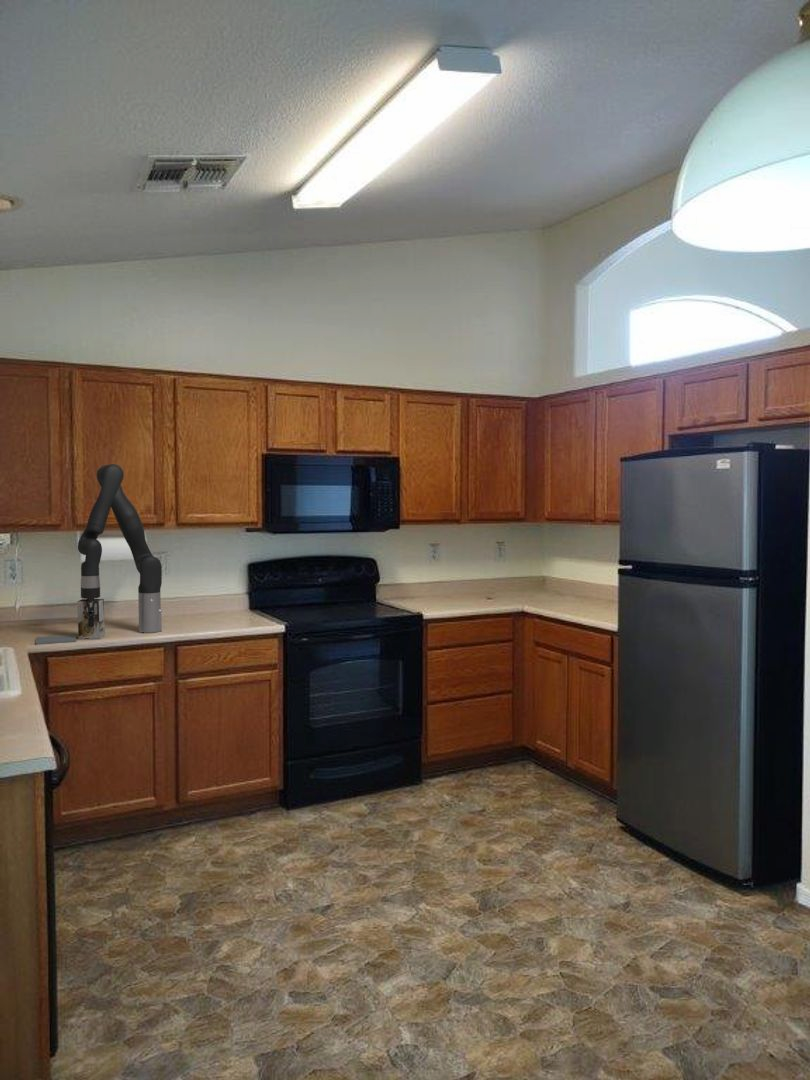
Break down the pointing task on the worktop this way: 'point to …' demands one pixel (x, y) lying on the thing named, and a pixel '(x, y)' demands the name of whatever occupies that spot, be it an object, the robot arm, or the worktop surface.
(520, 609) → the worktop surface
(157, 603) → the robot arm
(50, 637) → the mat
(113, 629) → the worktop surface
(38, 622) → the worktop surface
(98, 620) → the coffee box
